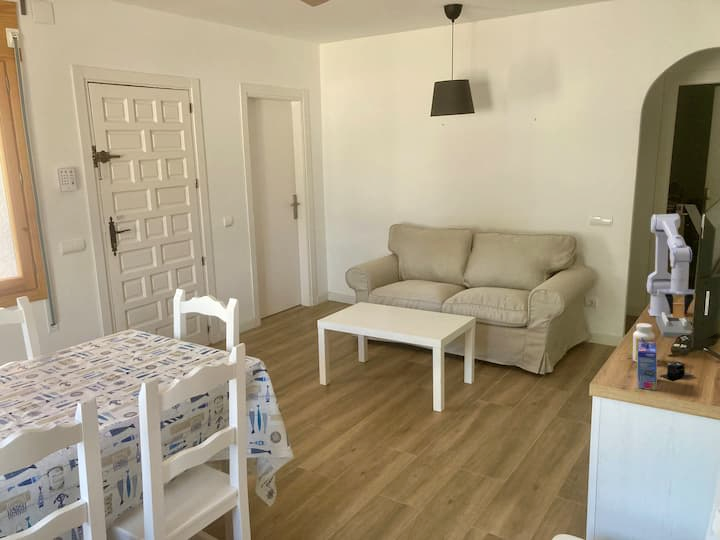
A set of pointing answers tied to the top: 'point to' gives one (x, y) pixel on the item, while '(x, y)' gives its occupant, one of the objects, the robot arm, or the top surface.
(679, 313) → the orange block
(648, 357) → the ink cartridge box
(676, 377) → the black block
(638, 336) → the supplement bottle
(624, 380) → the top surface
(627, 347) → the top surface
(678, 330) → the channel deck
